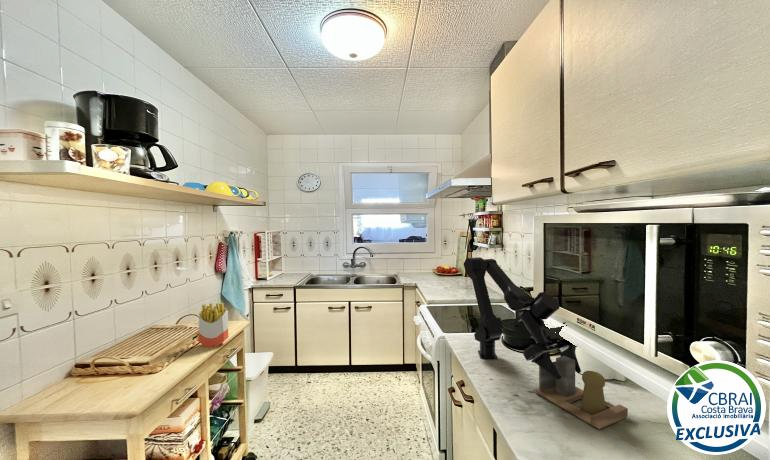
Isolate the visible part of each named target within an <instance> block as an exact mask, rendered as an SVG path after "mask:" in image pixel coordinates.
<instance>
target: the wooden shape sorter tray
mask: <svg viewBox="0 0 770 460" xmlns="http://www.w3.org/2000/svg"><path fill="white" fill-rule="evenodd" d="M552 362H553V364H554V365H555V367H556V369H557V370H558V372H559V374H560V376H561V379H557V378H556V377H554V376H553V375H552V374H550V373H549V372H548V371H546V370H545V369H543V368H542V367H540V366H539V365H538V386H537V387H535V388H534V392H535V393H536V394H538V395H539V396H542V397H543V398H545V399H546V400H548V401H550V402H552V403H553V404H555V405H556V406H558V407H560V408H562V409H564V410H565V411H566V412H569V413H570V414H572V415H574V416H576V417H577V418H579V419H581V420H582V421H584V422H585V423H588V424H589V425H590V426H592V427H595V428H596V429H598V430H601V429H603V428H606V427H608V426H610V425H612V424H614V423H616V422H620V421H621V420H624V419H626V418H627V417H629V414H628V413H629V409H628V407H626V406H624V405H621V404H620V403H619V404H617V405H614V404H612V403H611V402H608V401H606V400H605V405H606V410H604V411H602V412H599V413H597V414H594V415H590V414H588V413H586V412H585V411H583V410H581V408H580V407H578V406H575V405H574V404H572V403H573V402H576V401H578V400H582V396H583V390H584V389H581V388H579V387H578V386H576V371H575V360H573V359H571V358H568V357H566V356H557V357H555V361H552Z"/></svg>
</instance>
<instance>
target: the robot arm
mask: <svg viewBox="0 0 770 460" xmlns="http://www.w3.org/2000/svg"><path fill="white" fill-rule="evenodd" d="M463 268H464V270H465V273H466V275H467V276H468V277H469V279H470V280H471V281H472V285H473V289H474V293H475V299H476V303H477V306H478V311H479V314H480V317H479V320H478V323H477V324H478V330H477V331H476V332H474V334H473V336H474V337H473V338H474V340H475V341H477V342H479V350H477V353H478V356H479V358H480V359H489V360H498V359H499V358H498V355H497V354H496V341H500V340H501V337H502V334H503V333H504V326H503V324H502V318H501V317H497V315H495V313H494V310H493V305H492V304H491V299H490V294H489V291H488V287H487V282H486V280H485V276H486V273H487V274H488V275H489V276H490V278H491V279H492V280H493V281H494V283H495V284H496V285H497V286H498V288H499V289H500V291H502V293H503V300H504V301H505V303H506V305H507V306H508V308H509V309H510V310H511V311H514V312H517V311H522V310H523V311H522V312H518V313H516V318H515V322H517V323H518V322H523V324H524V326H525V327H526V329H527V331H529V334H528V337H529V338H530V339H531V338H533V340H534V341H535V343H532V344H530V345H529V346H528V347H527V348H525V349H523V351H522V352H523V353H522V354H523V357H524V358H525V360H526V361H527V362H529V361H530V362H531V363H532V364H535V365H537V366H538V367H539V366H540V367H542V368H543V369H545V370H546V371H548V372H549V373H550V374H552V375H553V376H554V377H556V378H557V379H561V376H560V374H559V372H558V370H557V369H556V367H555V365H554V364H553V362H554V361H552V359H551V353H550V352H552V351H556V350H557V351H558V352H560V353H559V354H558V355H559V357H561V356H566V357H568V358H571V359H573V360H575V373H577V374H581V373H582V370H581V367H580V363H579V361H578V358H577V354H576V350H577V349H576V348H578V345H577V346H575V345H573V344H572V343H570V342H569V341H567V340H565V339H563V337H561V336H560V335H559V332H560V331H561V329H562V327H564V326H561V327H559V326H556V328H555V327H553V328H550V329H549V328H548V327H546V326H545V324H544V322H545V321H544V320H547V319H549V318H550V317H551V316H552V315H554V314H556V312H557V311H558V310H559V309H560V304H559V303H560V302H558V300H557V299H556V298H554V297H553V296H552V295H549V294H547V293H546V292H545V291H542V292H538V294H537V295H536V297H532V296H531V295H530V294H529V293H528V292H527V291H526V290H525V289H524V288H522V287H520V286H517V285H516V284H515V283H514V282H513V281H512V280H511V278H510V277H509V275H507V274H506V273H505V271H504V270H503V269H502V267H500V265H499V264H498V261H497V260H496V259H494V258H483V257H479V256H478V257H467V258H465V260H464V262H463ZM566 322H567V321H565V322H562V323H563V324H565V323H566ZM566 326H567V325H566ZM555 332H556V333H555Z"/></svg>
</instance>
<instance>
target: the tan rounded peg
mask: <svg viewBox="0 0 770 460" xmlns="http://www.w3.org/2000/svg"><path fill="white" fill-rule="evenodd" d="M581 380H582V382H583V383H584V384H583V389H582V390H583V396H582V398H581V404H580V409H581V410H583V411H585V412H586V413H588V414H590V415H594V414H597V413H599V412H602V411H604V410H606V405H605V401H606V400H605V394H604V387H605V386H606V379H605V377H604V376H603V374H601V373H599V372H597V371H594V370H585V371H583V373H582V375H581Z"/></svg>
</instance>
